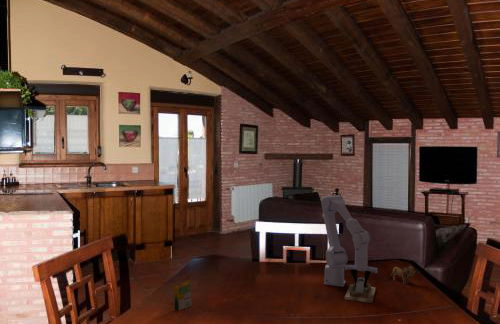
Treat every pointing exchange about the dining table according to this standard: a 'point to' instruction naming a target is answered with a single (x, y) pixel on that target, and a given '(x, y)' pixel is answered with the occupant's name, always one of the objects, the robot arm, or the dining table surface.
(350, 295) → the cradle jig
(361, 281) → the grey pillar with nub
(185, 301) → the crayon box
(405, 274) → the lion figurine
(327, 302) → the dining table surface
